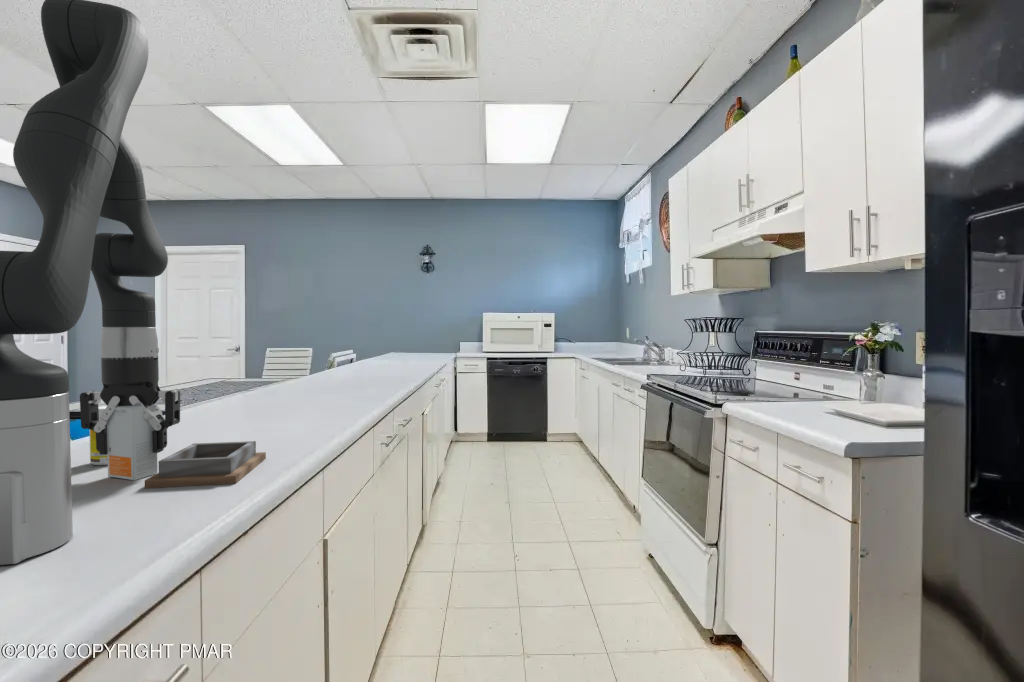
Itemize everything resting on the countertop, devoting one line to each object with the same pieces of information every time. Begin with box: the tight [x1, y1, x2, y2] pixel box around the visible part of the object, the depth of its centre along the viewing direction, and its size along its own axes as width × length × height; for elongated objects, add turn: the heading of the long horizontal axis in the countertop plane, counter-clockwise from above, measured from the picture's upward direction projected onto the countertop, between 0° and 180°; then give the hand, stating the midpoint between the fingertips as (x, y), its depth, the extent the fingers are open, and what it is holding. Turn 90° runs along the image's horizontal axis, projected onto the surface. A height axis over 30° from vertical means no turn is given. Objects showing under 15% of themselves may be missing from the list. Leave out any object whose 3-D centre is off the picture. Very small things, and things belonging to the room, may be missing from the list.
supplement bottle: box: [88, 405, 108, 466], centre depth 90 cm, size 6×6×10 cm
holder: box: [144, 440, 267, 489], centre depth 84 cm, size 15×13×4 cm
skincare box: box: [107, 403, 159, 481], centre depth 82 cm, size 6×4×12 cm
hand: (132, 452), depth 82 cm, fingers open, 7 cm apart
